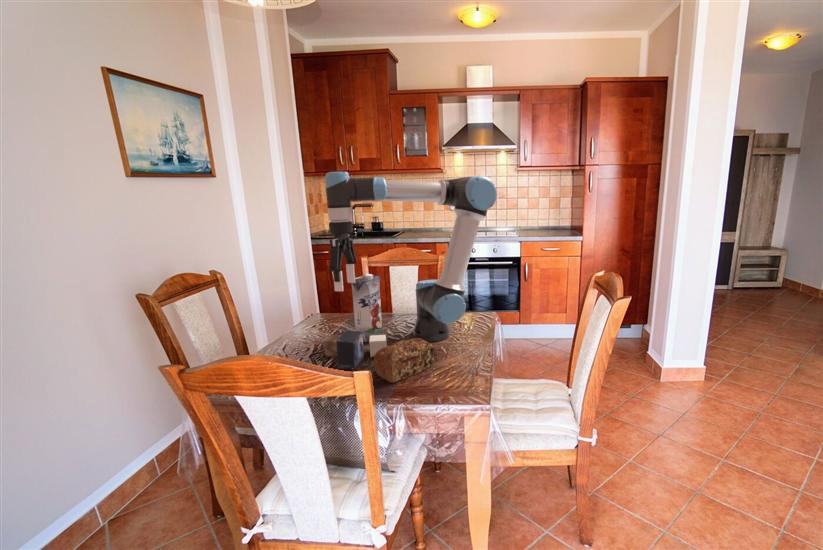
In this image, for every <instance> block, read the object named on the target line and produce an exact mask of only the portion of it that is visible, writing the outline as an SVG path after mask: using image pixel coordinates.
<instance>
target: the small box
mask: <svg viewBox="0 0 823 550" xmlns="http://www.w3.org/2000/svg"><path fill="white" fill-rule="evenodd" d="M340 336H341V337H340V338H339V339H338V340H337V341H336V346H337V357H336V358H337V370H344V371H355V370H356V369H357V368H358V367H359V365H360V364H361V363H362V361H363V360H364V359H365V352H364V351H365V349H364V341H363V332H361V331H355V330H346V331H345V332H344V333H343V334H342V335H340Z"/></svg>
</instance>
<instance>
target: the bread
mask: <svg viewBox="0 0 823 550" xmlns="http://www.w3.org/2000/svg"><path fill="white" fill-rule="evenodd" d="M434 348H435V347H434V346H433V344H432V343H431V342H430V341H425V340H423V339H420V338H415V337H414V338H410V339H401V340H400V341H396V342H394V343H391V344H390V345H389V344H388V345H387V347H383V348H382V349H380V350H379V351H377V352H376V353H375V354H374V357H373V365H374V369H375V371H374V372H375V374H376V375H378V376H379V377H380V378H382V379H384V380H385V381H386V382H389V383H397V382H398V381H400V380H405V379H407V378H409V377H412V376H414V375H417V374H419V373H422V371H425V370H426V369H428V368H431V367H432V366H434V363H435V361H434V360H435V349H434Z"/></svg>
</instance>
